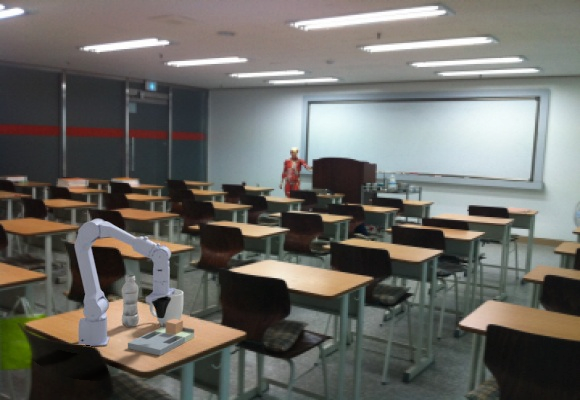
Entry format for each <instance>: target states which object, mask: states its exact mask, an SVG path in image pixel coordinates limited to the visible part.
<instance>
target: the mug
mask: <svg viewBox="0 0 580 400" xmlns="http://www.w3.org/2000/svg"><path fill="white" fill-rule="evenodd" d="M168 297H171V301H170V302H169V304H168V306H167V309H166V313H165V317H164V318H158V317H157V313H156V310H155V308H154V305H153V303H149V311H150V314H151V315H152V316H154V317H155V318H156V319H157V321H158V324H159V325H160V326H161V327H163V323H165V324H166V322H167V321H169V320H171V319H178V320H182V315H183V311H184V291H183V290H181V289H179V288H177V289H176V293H175V294H172V295H171V296H168Z"/></svg>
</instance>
